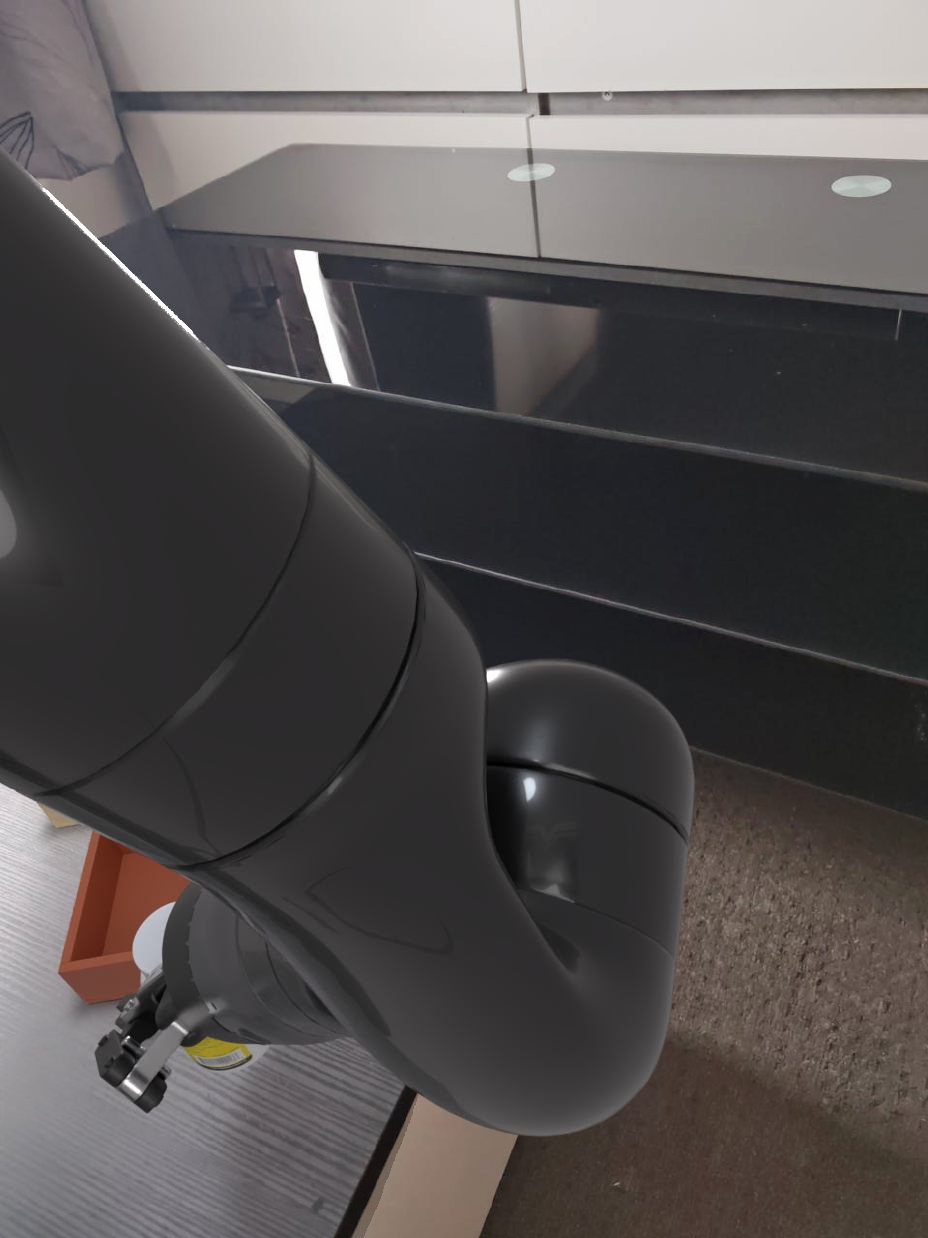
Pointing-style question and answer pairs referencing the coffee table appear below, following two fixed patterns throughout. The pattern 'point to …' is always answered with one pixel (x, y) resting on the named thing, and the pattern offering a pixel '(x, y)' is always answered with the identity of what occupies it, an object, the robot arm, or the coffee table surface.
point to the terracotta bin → (112, 918)
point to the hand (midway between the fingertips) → (175, 963)
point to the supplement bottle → (210, 1050)
